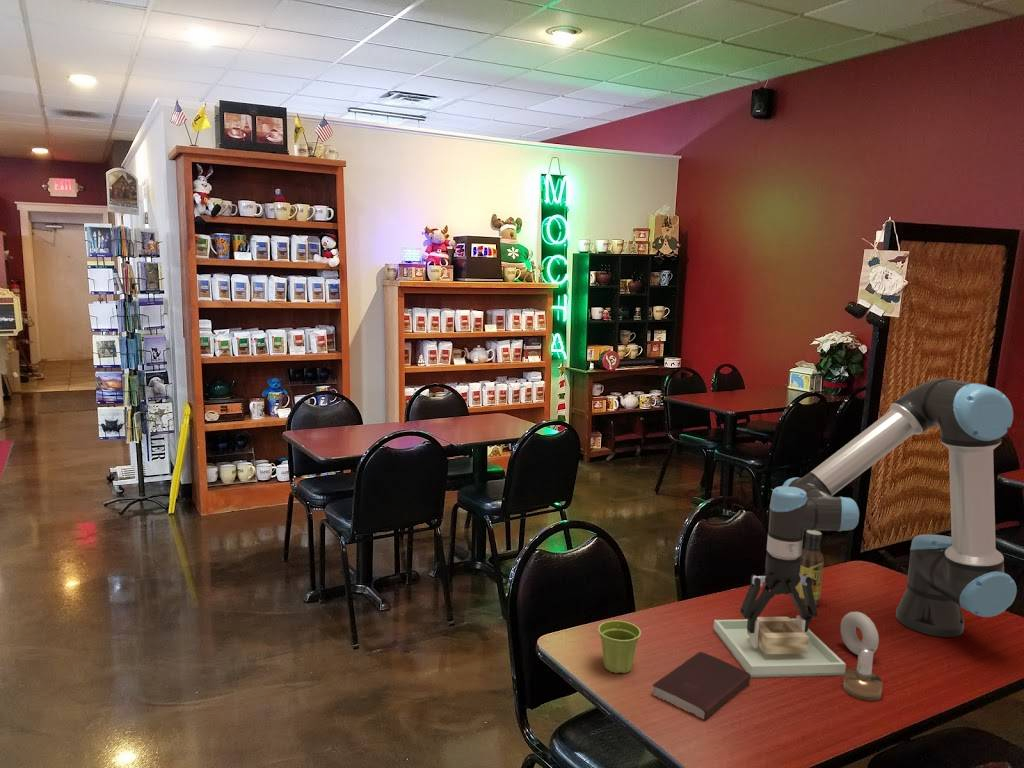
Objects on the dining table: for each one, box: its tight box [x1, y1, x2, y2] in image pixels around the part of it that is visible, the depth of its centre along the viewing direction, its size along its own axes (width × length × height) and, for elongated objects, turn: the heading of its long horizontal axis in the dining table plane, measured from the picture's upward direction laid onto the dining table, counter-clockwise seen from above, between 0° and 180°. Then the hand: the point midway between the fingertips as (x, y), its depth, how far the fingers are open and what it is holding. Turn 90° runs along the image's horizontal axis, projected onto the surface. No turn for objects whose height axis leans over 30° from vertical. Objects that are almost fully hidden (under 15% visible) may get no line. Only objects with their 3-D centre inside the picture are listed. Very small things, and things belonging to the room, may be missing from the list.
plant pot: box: [597, 619, 642, 674], centre depth 157 cm, size 9×9×9 cm
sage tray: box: [713, 618, 847, 679], centre depth 166 cm, size 22×22×3 cm
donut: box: [840, 611, 880, 656], centre depth 166 cm, size 10×4×10 cm, turn 19°
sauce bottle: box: [795, 530, 825, 606], centre depth 192 cm, size 6×6×20 cm
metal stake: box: [842, 646, 883, 702], centre depth 150 cm, size 7×7×10 cm
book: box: [652, 651, 751, 721], centre depth 150 cm, size 12×19×3 cm, turn 135°
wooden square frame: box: [747, 616, 809, 654], centre depth 166 cm, size 10×10×4 cm
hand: (776, 644), depth 166 cm, fingers open, 10 cm apart
